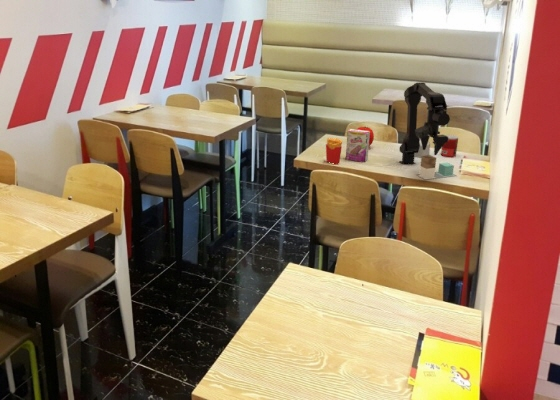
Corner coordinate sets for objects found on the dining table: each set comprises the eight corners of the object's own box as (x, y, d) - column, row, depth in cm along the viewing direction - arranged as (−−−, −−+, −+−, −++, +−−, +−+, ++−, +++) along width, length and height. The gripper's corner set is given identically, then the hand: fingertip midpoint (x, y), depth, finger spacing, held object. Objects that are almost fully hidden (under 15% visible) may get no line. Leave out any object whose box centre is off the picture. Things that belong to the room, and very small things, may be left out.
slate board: (414, 175, 267) (414, 174, 267) (446, 171, 273) (446, 170, 273) (425, 181, 259) (425, 180, 259) (457, 177, 266) (457, 176, 265)
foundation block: (419, 175, 266) (420, 165, 264) (428, 174, 267) (429, 164, 265) (425, 178, 261) (426, 168, 259) (434, 177, 263) (435, 167, 261)
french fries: (324, 161, 287) (324, 138, 282) (328, 160, 290) (329, 136, 285) (338, 165, 281) (339, 141, 277) (342, 163, 284) (344, 139, 280)
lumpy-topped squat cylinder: (406, 155, 299) (408, 140, 296) (414, 150, 309) (415, 135, 306) (424, 158, 294) (426, 143, 291) (431, 153, 304) (433, 138, 301)
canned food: (456, 157, 296) (459, 138, 292) (441, 157, 297) (443, 137, 293) (455, 154, 303) (457, 135, 299) (440, 153, 304) (442, 134, 300)
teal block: (446, 172, 271) (447, 162, 269) (452, 175, 267) (453, 165, 265) (438, 173, 269) (439, 163, 267) (444, 176, 265) (445, 166, 263)
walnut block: (428, 164, 265) (430, 155, 264) (435, 167, 261) (436, 157, 259) (420, 165, 264) (421, 156, 262) (426, 168, 259) (427, 158, 258)
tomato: (350, 146, 315) (351, 125, 310) (365, 144, 320) (367, 123, 315) (360, 151, 306) (362, 129, 301) (376, 149, 310) (378, 127, 305)
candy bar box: (345, 160, 290) (347, 130, 284) (348, 157, 295) (349, 128, 288) (365, 162, 286) (367, 132, 280) (368, 160, 290) (370, 130, 284)
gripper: (407, 117, 259) (404, 148, 265) (430, 126, 243) (426, 159, 249) (427, 116, 263) (423, 146, 269) (451, 124, 247) (446, 157, 253)
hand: (429, 152), depth 260 cm, fingers open, 9 cm apart
